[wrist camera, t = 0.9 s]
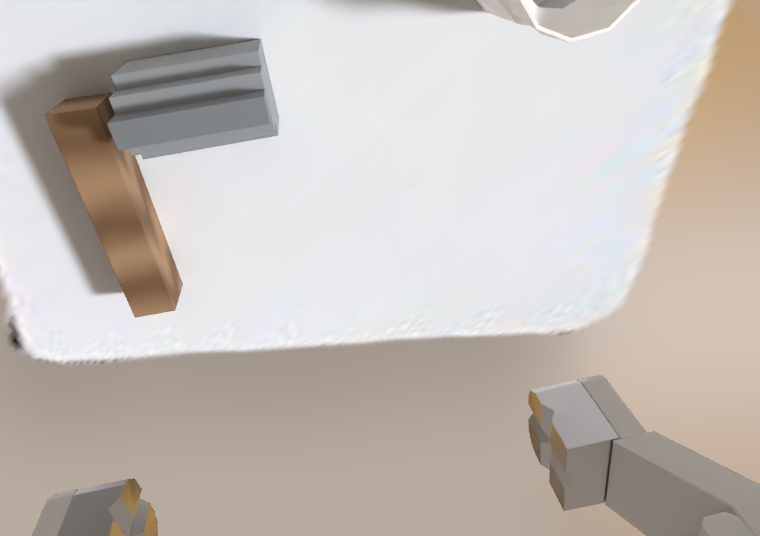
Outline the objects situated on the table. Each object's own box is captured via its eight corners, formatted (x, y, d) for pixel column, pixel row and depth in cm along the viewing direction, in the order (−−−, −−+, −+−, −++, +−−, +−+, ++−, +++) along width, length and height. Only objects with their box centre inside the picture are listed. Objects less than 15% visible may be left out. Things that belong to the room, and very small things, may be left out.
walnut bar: (66, 98, 42) (44, 115, 38) (112, 91, 42) (95, 107, 38) (145, 289, 52) (135, 317, 48) (183, 282, 52) (175, 310, 48)
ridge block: (128, 60, 41) (93, 90, 33) (260, 38, 41) (255, 62, 34) (156, 137, 44) (130, 180, 37) (278, 116, 45) (277, 153, 37)
